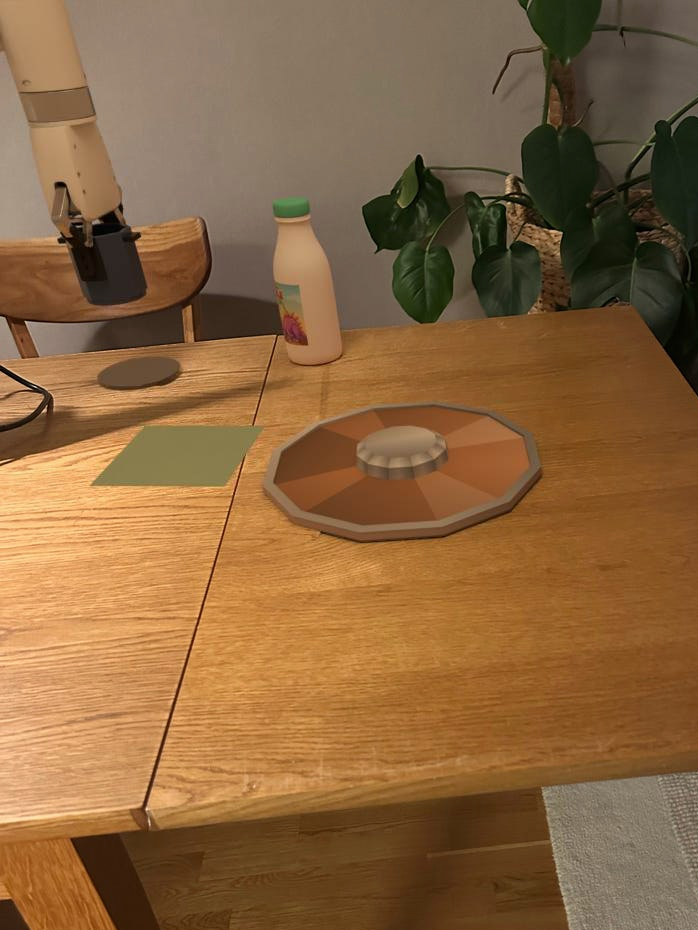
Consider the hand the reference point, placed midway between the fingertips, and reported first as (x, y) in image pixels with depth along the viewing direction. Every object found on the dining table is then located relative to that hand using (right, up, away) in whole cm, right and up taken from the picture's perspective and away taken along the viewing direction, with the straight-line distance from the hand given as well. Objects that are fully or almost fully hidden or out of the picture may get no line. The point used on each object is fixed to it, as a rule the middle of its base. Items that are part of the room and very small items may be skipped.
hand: (108, 270), depth 106 cm
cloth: (+13, -26, -11) cm, 31 cm away
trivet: (+1, -11, +9) cm, 14 cm away
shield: (+39, -29, -16) cm, 51 cm away
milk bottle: (+24, -7, +12) cm, 28 cm away
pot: (0, -3, +2) cm, 3 cm away
